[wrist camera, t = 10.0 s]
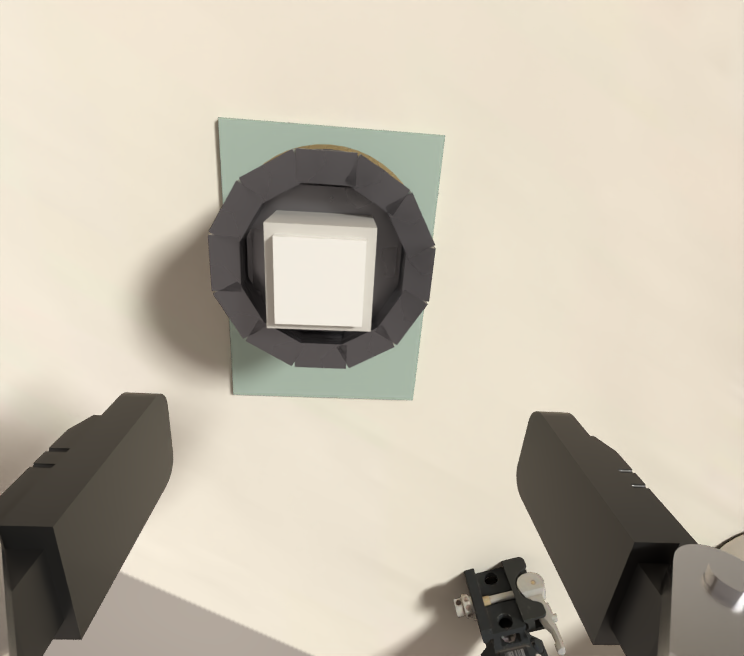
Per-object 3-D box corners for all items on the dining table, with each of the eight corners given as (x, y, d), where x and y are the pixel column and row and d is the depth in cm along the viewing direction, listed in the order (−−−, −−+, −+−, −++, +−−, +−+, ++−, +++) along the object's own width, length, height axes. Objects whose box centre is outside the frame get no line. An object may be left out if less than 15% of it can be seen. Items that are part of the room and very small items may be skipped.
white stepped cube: (372, 215, 20) (378, 230, 16) (367, 304, 21) (371, 336, 17) (276, 210, 19) (260, 224, 16) (278, 300, 21) (264, 332, 17)
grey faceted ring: (416, 151, 26) (453, 153, 17) (401, 308, 30) (424, 376, 21) (247, 138, 26) (194, 133, 17) (252, 301, 29) (211, 368, 20)
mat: (443, 135, 26) (445, 135, 26) (412, 397, 33) (412, 400, 32) (220, 117, 25) (218, 117, 25) (234, 391, 32) (233, 394, 31)
